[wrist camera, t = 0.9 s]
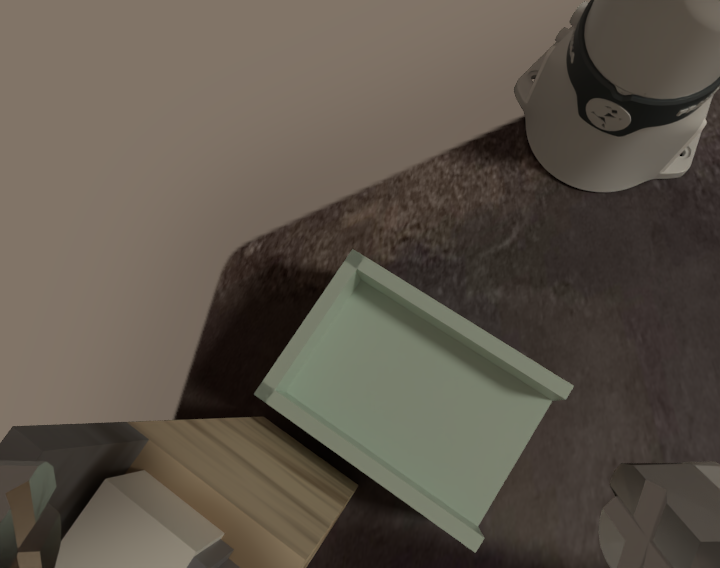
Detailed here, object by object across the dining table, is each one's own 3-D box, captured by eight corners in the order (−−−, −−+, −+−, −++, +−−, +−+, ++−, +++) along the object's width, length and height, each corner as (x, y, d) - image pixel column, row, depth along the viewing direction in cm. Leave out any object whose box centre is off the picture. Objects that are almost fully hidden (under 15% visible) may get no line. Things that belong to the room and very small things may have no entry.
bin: (363, 277, 55) (352, 249, 45) (542, 390, 51) (573, 385, 41) (282, 397, 53) (253, 394, 43) (462, 524, 49) (475, 552, 39)
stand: (263, 416, 52) (12, 426, 19) (358, 485, 50) (258, 627, 17) (220, 480, 51) (-121, 604, 18) (315, 553, 49) (121, 841, 16)
